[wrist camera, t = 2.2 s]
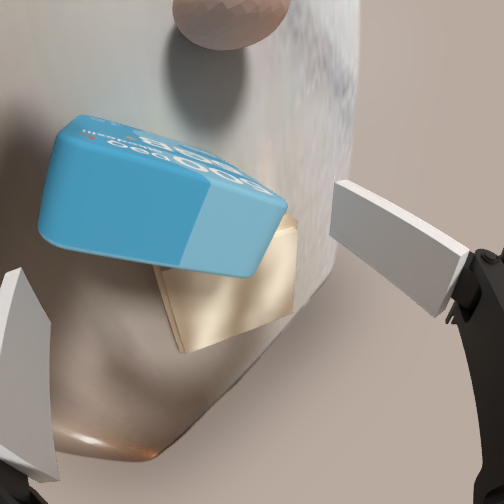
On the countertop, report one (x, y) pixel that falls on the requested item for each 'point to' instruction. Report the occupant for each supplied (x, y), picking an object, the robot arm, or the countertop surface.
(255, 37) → the egg
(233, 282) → the stand
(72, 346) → the countertop surface
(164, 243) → the blue box
